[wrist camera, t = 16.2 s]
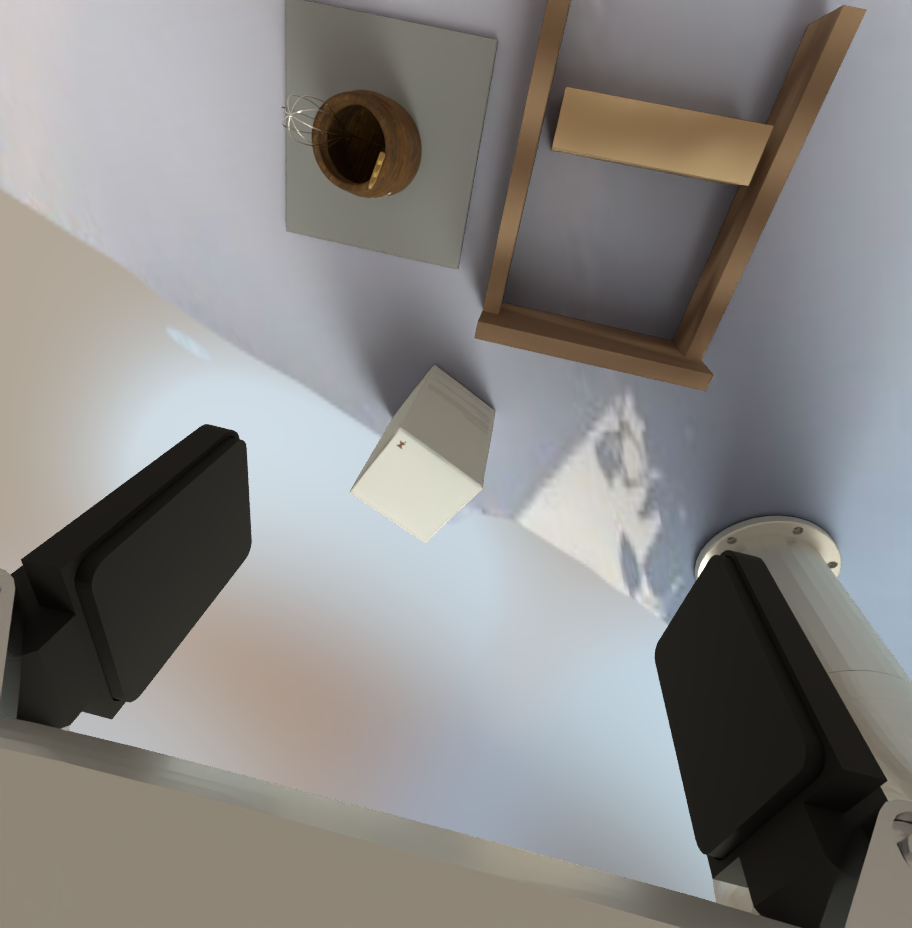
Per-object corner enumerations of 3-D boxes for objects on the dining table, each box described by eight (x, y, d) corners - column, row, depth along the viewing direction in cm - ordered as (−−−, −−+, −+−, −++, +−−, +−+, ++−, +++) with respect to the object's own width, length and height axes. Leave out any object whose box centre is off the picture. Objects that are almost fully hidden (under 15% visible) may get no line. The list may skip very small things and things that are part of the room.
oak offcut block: (722, 183, 34) (748, 185, 29) (550, 150, 34) (552, 147, 30) (743, 131, 32) (773, 125, 28) (563, 97, 33) (566, 86, 28)
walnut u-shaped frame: (681, 358, 40) (705, 391, 34) (484, 313, 40) (474, 338, 34) (828, 28, 29) (902, -9, 23) (556, -26, 29) (559, -76, 24)
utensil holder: (360, 78, 33) (279, 37, 23) (442, 130, 34) (398, 112, 24) (331, 168, 36) (248, 167, 26) (407, 214, 37) (355, 230, 27)
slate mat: (458, 268, 39) (457, 269, 38) (289, 230, 39) (286, 231, 39) (497, 41, 31) (497, 39, 31) (288, -2, 32) (285, -4, 32)
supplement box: (390, 418, 47) (344, 491, 36) (435, 361, 43) (399, 424, 32) (450, 464, 48) (424, 547, 38) (499, 412, 45) (485, 488, 34)
